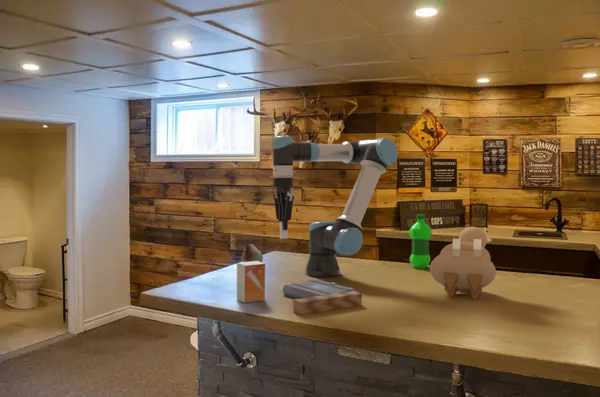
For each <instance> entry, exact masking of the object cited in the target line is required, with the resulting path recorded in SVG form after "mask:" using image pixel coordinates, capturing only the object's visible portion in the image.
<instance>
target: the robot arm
mask: <svg viewBox="0 0 600 397" xmlns="http://www.w3.org/2000/svg"><path fill="white" fill-rule="evenodd" d="M272 140H273V141H272V171H273V172H272V173H273V174H272V175H273V179H272V180H273V181H272V182H273V184H272V185H273V188H276V190H275V194H273V195H272V197H273V198H272V199H273V200H274V210H275V218H276V220H278V222H279V239H280V240H284V239H286V240H287V239H289V236H288V235H289V233H288V230H289V229H288V226H289V225H288V223H289V221H291V220H292V213H293V203H294V200H295V196H294V195H292V194H291V189H290V188H293V186H294V178H293V175H294V172H293V171H294V164H293V163H298V162H301V163H302V162H303V163H304V162H310V163H311V162H343V163H344V164H354V165H361V169H360V172H359V174H358V176H357V178H356V180H355V183H354V186H353V188H352V191H351V193H350V195H349V198H348V200H347V202H346V204H345V207H344V210H343V212H342V214H341V215H340V216H338V217H337V218H336V219H335V220H333V221H331V220H330V221H318V222H312V223H310V225H309V230H308V231H309V232H308V233H309V256H308V260H307V262H306V263H307V264H306V266H305V273H304V274H306V275H307V276H311V277H318V278H326V277H327V278H329V277H331V278H332V277H337V276H339V275H340V274H341V273H340V272H341V268H340V265H339V262H338V260H337V256H336V255H337V254H338V255H340V256H354V255H355V254H357V253H358V252H359V251H360V249H361V248H362V246H363V242H364V238H363V237H364V236H363V233H362V231H363V227H362V225H361V224H362V221H363V218H364V216H365V214H366V211H367V210H368V206H369V203H370V201H371V199H372V196H373V194H374V192H375V189H376V187H377V184H378V183H379V180H380V177H381V175H383V174H385V173H387V172H386V171H387V170H388V166H391V165H393V164H395V163H396V162H397V159H398V155H399V154H398V148H397V145H396V143H395V141H394V140H392V139H391V138H389V137H378V138H367V139H366V138H365V139H360V140H353V141H344V142H342V143H316V142H311V141H308V142H307V141H304V142H303V141H299V142H298V141H294V140H293V137H292V136H291V135H289V136H288V135H284V136H283V135H279V136H275V137H273V139H272Z"/></svg>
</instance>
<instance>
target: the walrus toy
mask: <svg viewBox="0 0 600 397" xmlns="http://www.w3.org/2000/svg"><path fill="white" fill-rule="evenodd" d="M487 233H488V230H486V227H484V231H483V230H482V229H481V228H479V227H477V226H476V227H475V226H468V227H465V228H464V229H463V230H461V232H460V233H459V236H458V238H453V239H452V243H449V244H447V245H445V246H444V247H443V248H442V249H441V251H440V253H439V255H437V256H435V257H434V258H433V260H432V261H430V262H431V263H430V266H429V273H430V275H431V276H432V278H433V279H434V280H435V282H437V283H439V284H440V285H442V286H444V287H443V288H444V291H445V292H446V294H447V295H448V297H449V298H450V299H452V298H453V297H454V296H455V295H456V293H458V292H459V291H463V292H465V291H466V292H468V293H469V294H470V296H471V298H472V299H473V301H476V299H477V298H478V297H479V296H480V295H481V294H482V293H483V288H486V287H488V286H489V285H490V284H491V283H492V282H493V281H494V280H495V278H496V275H497V274H496V273H497V271H496V266H495V265H494V262H492V261H491V254H490V252H489V251H488V250H487V249H486V248H485V247H486V245H487V243H491V242H492V240H493V239H492V238H491V237H489V236H487Z"/></svg>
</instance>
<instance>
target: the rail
mask: <svg viewBox="0 0 600 397" xmlns="http://www.w3.org/2000/svg"><path fill="white" fill-rule="evenodd" d="M362 298H363V293H361V292H359V291H356V290H355V291H351V292H344V293H336V294H329V295H322V296H315V297H308V298H300V299H296V298H293V313H295V314H297V315H299V316H301V315H308V314H314V313H321V312H322V313H323V312H326V311H327V312H328V311H333V310H339V309H346V308H353V307H358V306H362V305H363V303H362V302H363V299H362Z"/></svg>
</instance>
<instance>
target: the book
mask: <svg viewBox="0 0 600 397" xmlns="http://www.w3.org/2000/svg"><path fill="white" fill-rule="evenodd" d="M351 291H356V288H353V287H347V286H344V285H340V284H338V283H337V282H334V281H333V282H329V281H324V280H321V279H317V278H315V279H309V280H304V281H299V282H292V283H287V284H284V285H283V287H282V293H283V295H284V296H287V297H291V298H293V299H300V298H308V297H315V296H322V295H329V294H336V293H344V292H351Z"/></svg>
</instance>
